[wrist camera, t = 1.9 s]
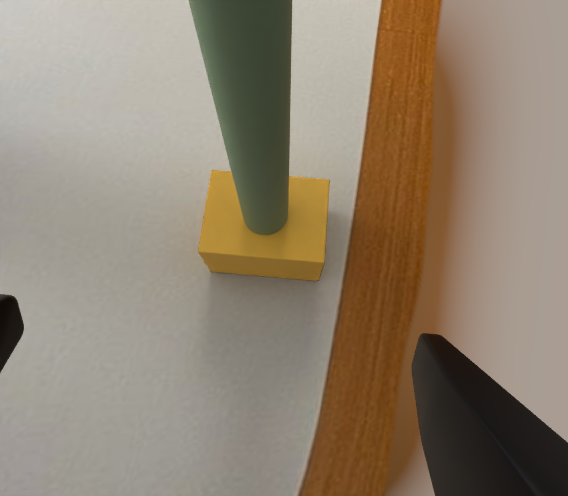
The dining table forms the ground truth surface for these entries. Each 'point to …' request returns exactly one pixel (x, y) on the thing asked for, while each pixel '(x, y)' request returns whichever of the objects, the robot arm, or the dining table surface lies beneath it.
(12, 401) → the dining table surface
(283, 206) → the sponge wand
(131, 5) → the dining table surface
